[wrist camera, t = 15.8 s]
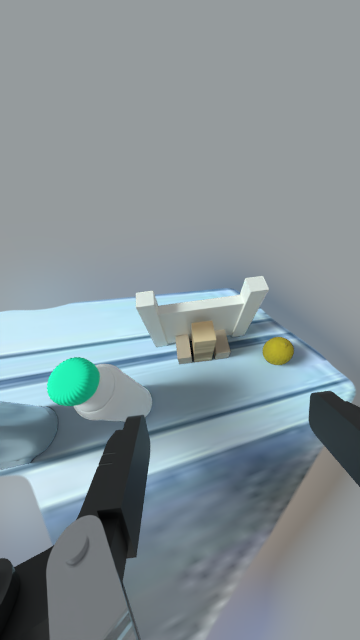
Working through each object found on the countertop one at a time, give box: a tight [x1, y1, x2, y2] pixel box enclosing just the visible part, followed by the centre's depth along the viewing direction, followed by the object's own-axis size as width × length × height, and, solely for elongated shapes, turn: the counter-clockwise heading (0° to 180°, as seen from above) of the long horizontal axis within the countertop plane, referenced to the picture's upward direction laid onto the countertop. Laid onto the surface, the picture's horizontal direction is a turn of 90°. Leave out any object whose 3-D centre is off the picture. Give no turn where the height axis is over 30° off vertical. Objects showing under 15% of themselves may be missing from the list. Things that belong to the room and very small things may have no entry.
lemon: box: [263, 337, 294, 365], centre depth 39 cm, size 6×6×8 cm
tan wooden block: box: [191, 321, 216, 362], centre depth 39 cm, size 5×4×12 cm
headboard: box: [136, 276, 269, 364], centre depth 38 cm, size 8×22×18 cm, turn 97°
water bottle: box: [47, 357, 152, 422], centre depth 29 cm, size 7×7×25 cm
